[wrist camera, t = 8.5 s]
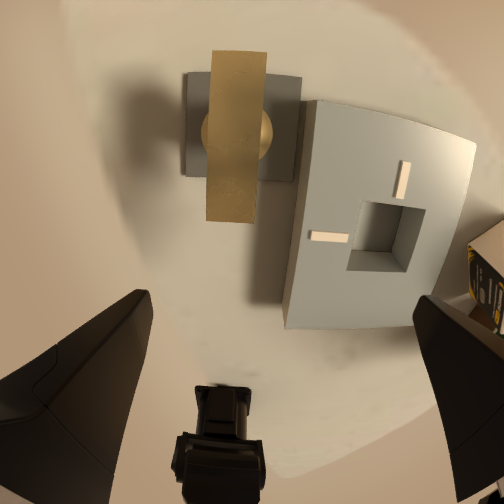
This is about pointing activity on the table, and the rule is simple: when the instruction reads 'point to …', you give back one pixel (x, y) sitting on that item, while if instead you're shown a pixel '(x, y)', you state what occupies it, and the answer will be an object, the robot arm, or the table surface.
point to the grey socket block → (348, 209)
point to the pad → (276, 107)
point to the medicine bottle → (488, 273)
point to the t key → (235, 134)
